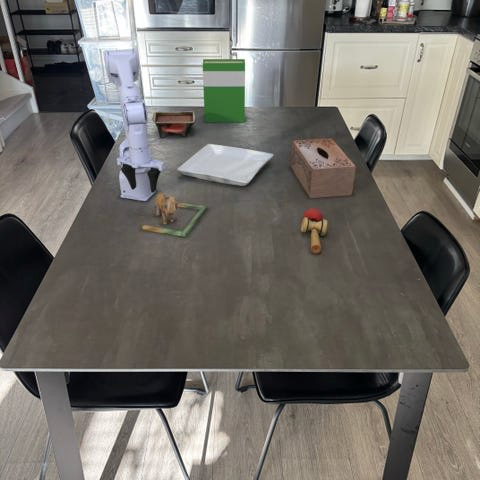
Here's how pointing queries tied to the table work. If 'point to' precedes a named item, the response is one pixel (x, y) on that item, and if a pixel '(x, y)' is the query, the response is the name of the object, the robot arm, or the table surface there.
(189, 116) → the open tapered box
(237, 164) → the square plate
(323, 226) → the kendama
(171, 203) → the lion figurine
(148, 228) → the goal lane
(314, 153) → the tissue box cover
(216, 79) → the hardback book
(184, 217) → the table surface
